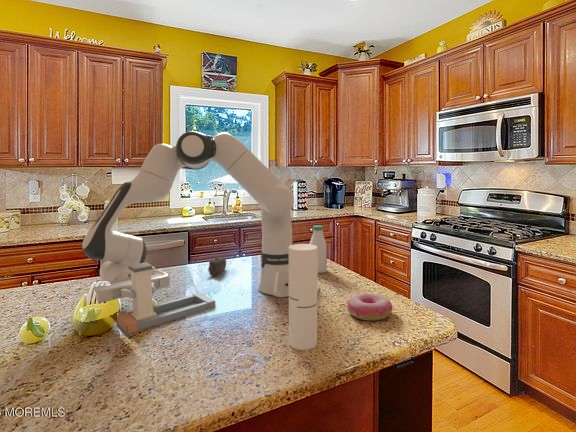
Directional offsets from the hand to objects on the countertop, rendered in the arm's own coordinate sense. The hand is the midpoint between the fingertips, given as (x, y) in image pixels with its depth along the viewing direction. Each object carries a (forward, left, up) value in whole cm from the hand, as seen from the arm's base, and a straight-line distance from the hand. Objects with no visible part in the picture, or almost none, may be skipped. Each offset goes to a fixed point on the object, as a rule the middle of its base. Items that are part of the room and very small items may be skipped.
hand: (143, 292), depth 94 cm
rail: (-5, -5, -10) cm, 12 cm away
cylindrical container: (-42, +15, -10) cm, 46 cm away
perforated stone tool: (-17, -49, -10) cm, 53 cm away
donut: (-66, +1, -10) cm, 67 cm away
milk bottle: (-60, -46, -10) cm, 77 cm away
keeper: (+1, -1, -8) cm, 9 cm away
